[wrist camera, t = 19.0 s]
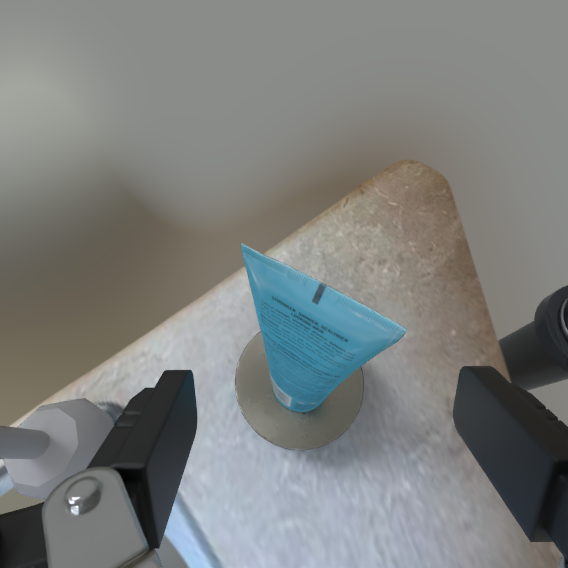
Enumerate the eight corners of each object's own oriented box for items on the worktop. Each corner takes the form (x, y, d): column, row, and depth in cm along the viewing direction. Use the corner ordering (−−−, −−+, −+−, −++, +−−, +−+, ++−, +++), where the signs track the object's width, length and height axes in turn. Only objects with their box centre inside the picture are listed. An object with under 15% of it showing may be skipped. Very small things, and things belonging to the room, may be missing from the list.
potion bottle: (139, 463, 35) (18, 466, 19) (50, 517, 33) (-168, 570, 17) (111, 386, 39) (-12, 335, 23) (28, 431, 37) (-171, 409, 21)
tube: (348, 376, 31) (426, 275, 14) (327, 429, 29) (387, 387, 12) (273, 341, 33) (261, 210, 16) (249, 389, 31) (204, 301, 14)
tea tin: (344, 342, 41) (356, 317, 34) (354, 451, 36) (371, 449, 29) (246, 343, 41) (237, 319, 34) (242, 452, 36) (231, 450, 29)
